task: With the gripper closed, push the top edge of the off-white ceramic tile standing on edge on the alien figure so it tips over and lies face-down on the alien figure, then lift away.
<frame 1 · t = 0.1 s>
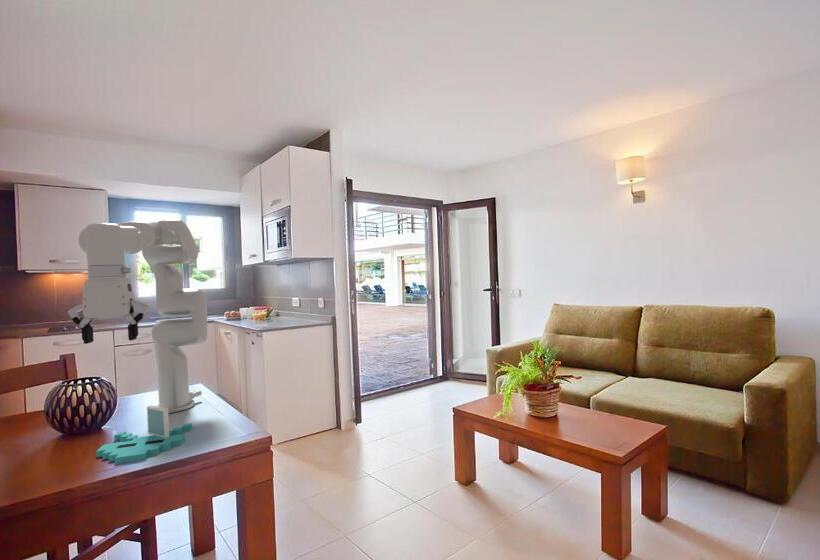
hand: (111, 341, 104), 31 cm above the table, tool pointing down, fingers open, 9 cm apart
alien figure: (144, 449, 115), on the table, touching tile
tile: (158, 435, 118), point 2 cm above the table, touching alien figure
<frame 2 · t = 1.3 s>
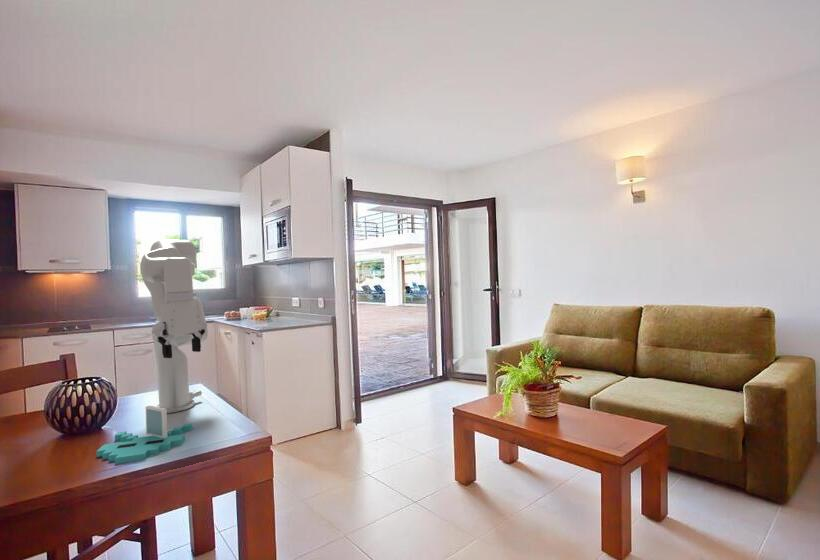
hand: (182, 354, 126), 23 cm above the table, tool pointing down, fingers open, 8 cm apart
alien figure: (144, 449, 115), on the table
tile: (156, 435, 118), point 2 cm above the table
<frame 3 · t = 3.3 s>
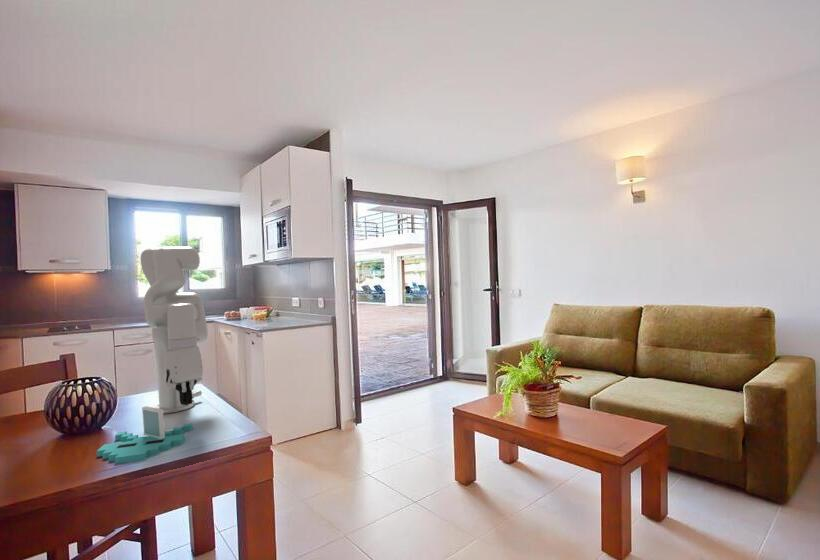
hand: (186, 403, 126), 8 cm above the table, tool pointing down, fingers closed
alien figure: (144, 449, 115), on the table, touching tile
tile: (154, 436, 118), point 2 cm above the table, touching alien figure
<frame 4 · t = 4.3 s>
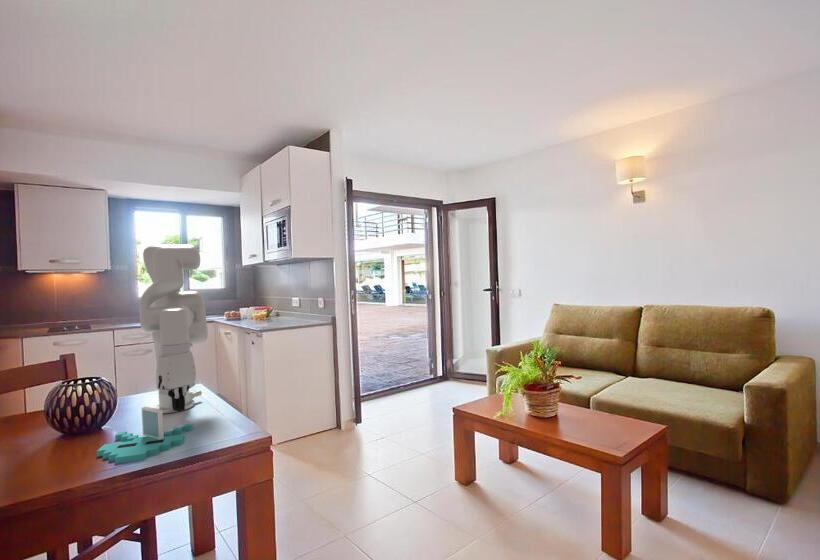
hand: (179, 410, 124), 7 cm above the table, tool pointing down, fingers closed
nothing on the table moved.
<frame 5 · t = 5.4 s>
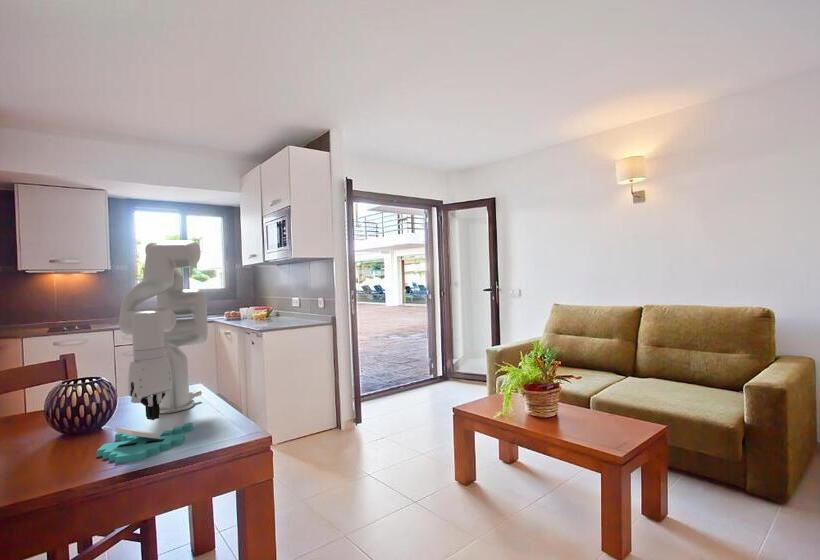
hand: (153, 418, 117), 7 cm above the table, tool pointing down, fingers closed
tile: (151, 435, 117), point 2 cm above the table, tilted 62°, touching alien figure
everything else where it was.
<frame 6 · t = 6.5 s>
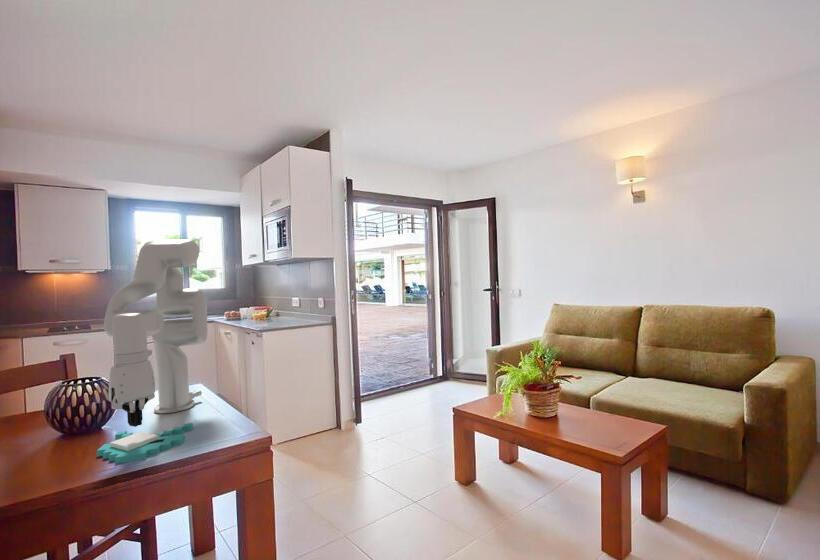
hand: (135, 424, 113), 7 cm above the table, tool pointing down, fingers closed
tile: (149, 435, 117), point 2 cm above the table, tilted 90°, touching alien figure
everything else where it was.
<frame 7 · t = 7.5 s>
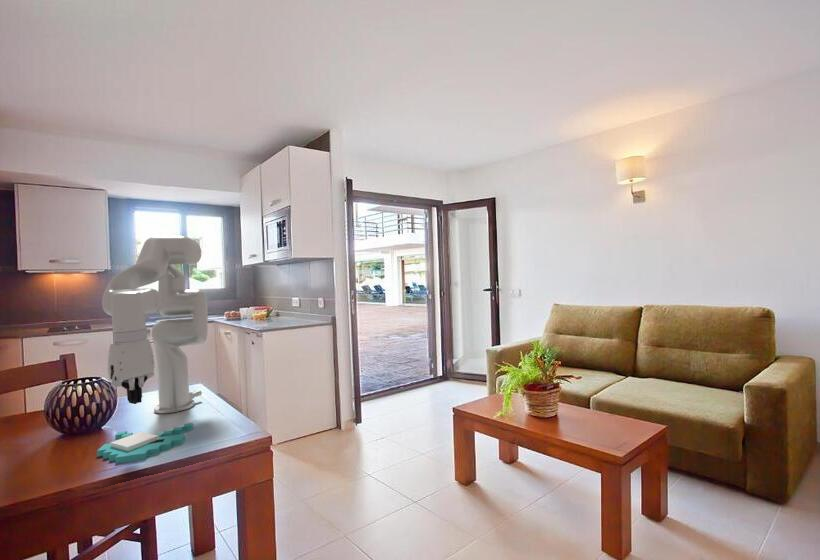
hand: (135, 402, 114), 13 cm above the table, tool pointing down, fingers closed
nothing on the table moved.
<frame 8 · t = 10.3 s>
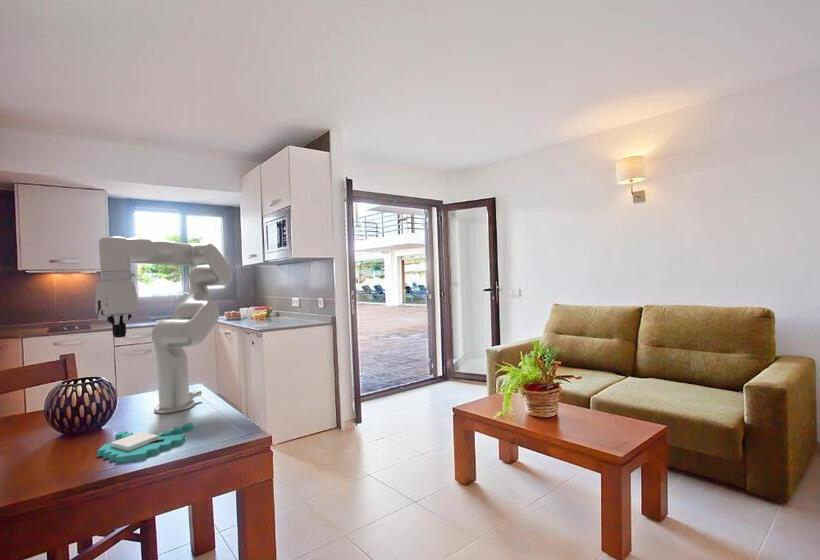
hand: (119, 336, 127), 29 cm above the table, tool pointing down, fingers closed
nothing on the table moved.
at the end: tile tilted 90°; tile inside the target area on the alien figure (1.7 cm from its centre), point 3.1 cm above the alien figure's base; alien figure moved 1.0 cm from its start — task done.
